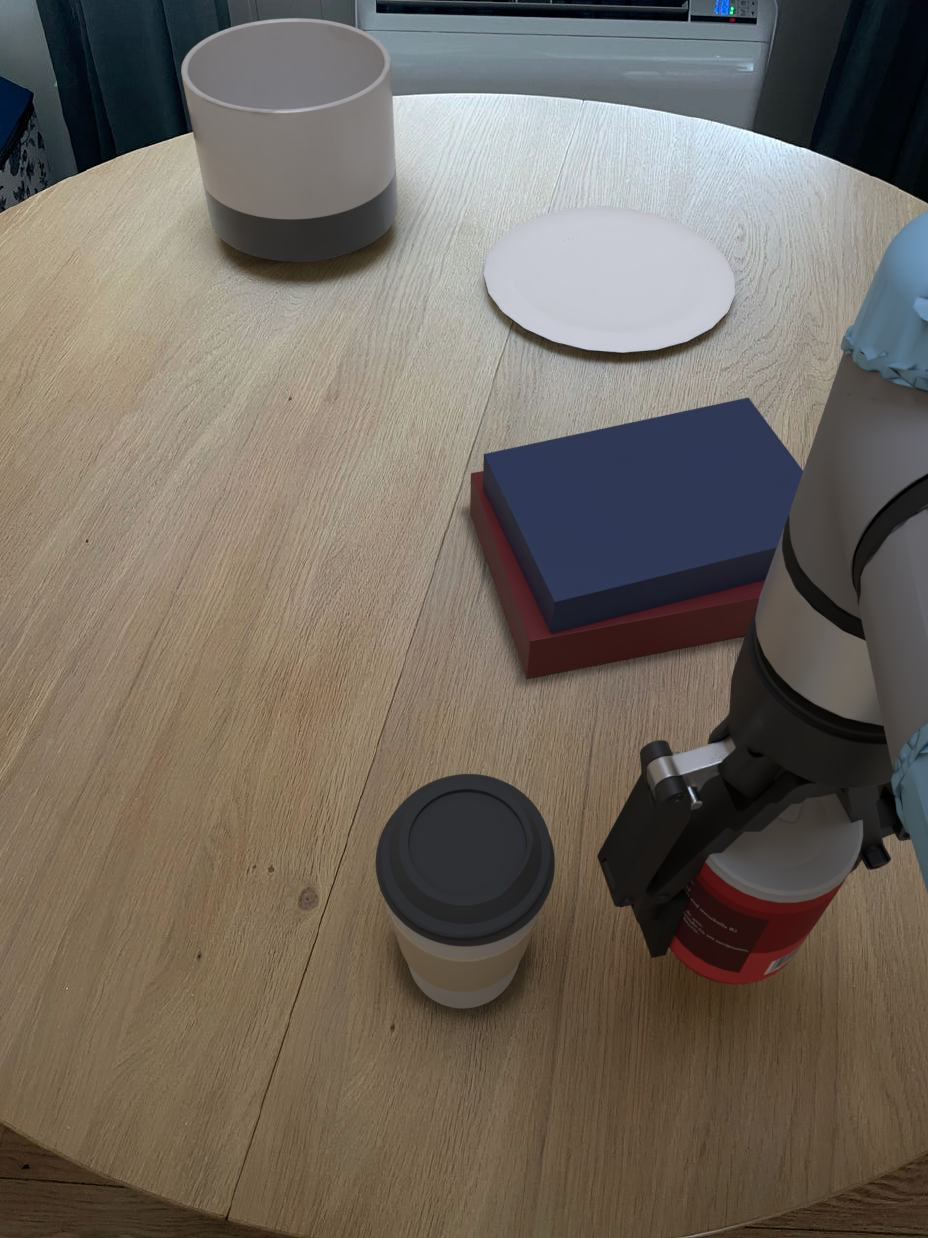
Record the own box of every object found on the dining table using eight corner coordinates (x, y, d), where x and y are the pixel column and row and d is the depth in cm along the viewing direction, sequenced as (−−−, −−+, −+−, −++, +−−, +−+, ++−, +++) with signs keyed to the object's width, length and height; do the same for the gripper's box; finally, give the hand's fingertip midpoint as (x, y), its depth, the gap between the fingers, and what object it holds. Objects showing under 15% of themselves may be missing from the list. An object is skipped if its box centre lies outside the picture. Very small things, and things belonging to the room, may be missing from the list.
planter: (185, 219, 112) (147, 46, 98) (343, 170, 118) (329, 1, 104) (265, 310, 102) (235, 131, 88) (433, 251, 108) (430, 76, 94)
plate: (785, 314, 102) (789, 299, 101) (574, 397, 94) (576, 382, 93) (633, 196, 115) (635, 181, 114) (437, 260, 107) (437, 245, 106)
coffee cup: (360, 985, 61) (338, 877, 49) (429, 856, 66) (424, 730, 54) (501, 1055, 58) (513, 958, 47) (561, 916, 64) (586, 797, 52)
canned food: (802, 862, 56) (864, 754, 48) (798, 1007, 51) (866, 915, 43) (661, 833, 57) (697, 721, 49) (643, 972, 52) (680, 875, 44)
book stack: (833, 618, 78) (866, 547, 72) (526, 679, 75) (533, 609, 68) (743, 466, 88) (765, 392, 82) (469, 512, 85) (471, 438, 79)
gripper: (1055, 522, 40) (872, 810, 58) (546, 616, 37) (516, 891, 55) (1183, 674, 36) (942, 936, 53) (614, 796, 33) (557, 1032, 50)
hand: (726, 913), depth 54 cm, fingers closed on canned food, 8 cm apart
